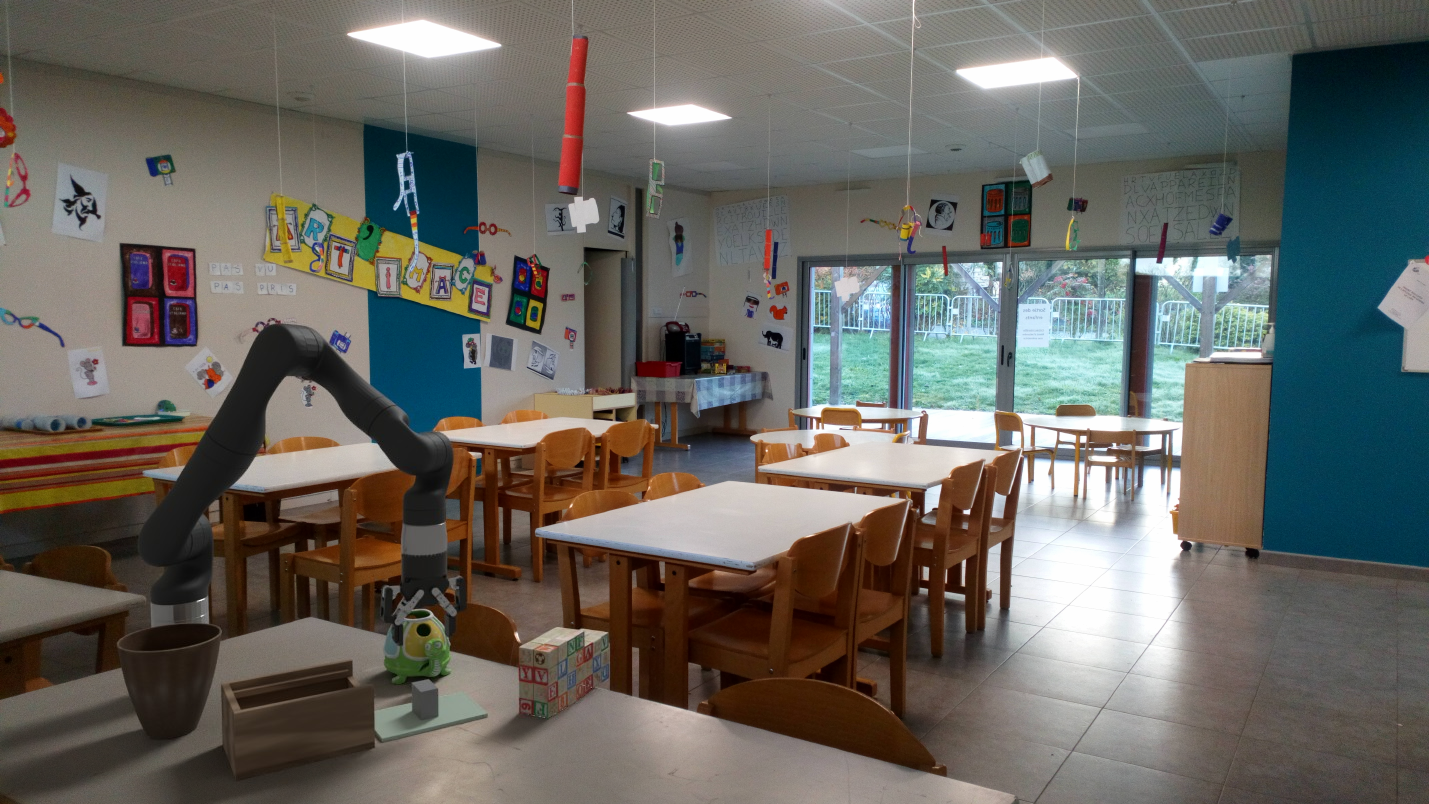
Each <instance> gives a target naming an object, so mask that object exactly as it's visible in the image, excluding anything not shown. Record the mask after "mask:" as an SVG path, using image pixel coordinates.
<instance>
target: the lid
mask: <svg viewBox="0 0 1429 804" xmlns="http://www.w3.org/2000/svg"><path fill="white" fill-rule="evenodd" d="M374 713H375V736H376V737H378V739H379V740H380V742H381V743H384V742H389V741H390V742H391V741H393V740H397V739H401V738H405V737H406V738H407V737H410V736H414V735H417V734H419V735H420V734H421V733H422V734H423V733H426V732H431V731H436V730H438V729H443V728H446V727H452V726H455V725H460V724H463V723H469V722H472V721H478V720H481V719H484V718H488V717H489V713H488V712H487V711H486V710H485V709H484V708H483V707H481V706H480V705H479V703H477V702H476V701H475V700H473V699H472V697H471V696H469V695H468V694H467V693H466V692H465V691H458V692H454V693H453V692H452V693H449V694H444V695H439V687H438V686H437V685H436V684H435V683H434V682H432V681H431V680H430V679H429V678H428V679H424V680H423V679H422V680H418V681H413V682H411V702H409V703H405V704H404V703H403V704H400V705H399V704H398V705H394V706H391V707H390V706H389V707H387V708H386V707H385V708H382V709H378V710H374Z"/></svg>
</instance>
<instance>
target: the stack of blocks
mask: <svg viewBox="0 0 1429 804" xmlns="http://www.w3.org/2000/svg"><path fill="white" fill-rule="evenodd" d="M609 637H610V636H609V632H608V631H607V632H606V631H602V630H592V629H588V628H587V629H586V628H580V629H573V628H567V627H566V628H565V627H561V626H560V627H559V626H556V627H554V628H552V629H550V630H548V631H545V632H544V633H543V634H541V635H539V636H538V637H536V638H534V639H532V640H530V641H528V642H526V643H524V644H522V645H520V646H518V691H519V692H518V706H519V707H518V711H519V712H518V714H521V713H523V714H522V715H525V714H529V715H528V716H530V715H535V716H534V717H536V716H541V717H545V718H549V717H551V716H552V715H554V714H555V713H557V712H559V711H560V710H562V709H563V710H565V709H566V708H568V707H569V706H571V705H573V704H574V703H576V702H577V701H578V700H579V699H580V698H582V697H583V696H584V695H586V694H587V693H590V691H592V690H593V689H595V688H597V687H598V686H599V685H601V684H603V683H604V682H605V681H607V680H608V679H609V678H610V648H609V644H610V643H609V641H610V640H609ZM583 685H585V686H583ZM591 687H592V689H591ZM573 702H574V703H573ZM570 704H571V705H570ZM568 705H569V706H568ZM567 706H568V707H567ZM565 707H566V708H565ZM564 708H565V709H564ZM563 710H562V711H563ZM560 712H561V711H560ZM560 712H559V713H560ZM557 714H558V713H557ZM555 715H556V714H555ZM555 715H554V716H555ZM541 717H540V718H541ZM552 717H553V716H552ZM552 717H551V718H552ZM545 718H544V719H545ZM549 719H550V718H549Z"/></svg>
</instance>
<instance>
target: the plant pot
mask: <svg viewBox="0 0 1429 804" xmlns="http://www.w3.org/2000/svg"><path fill="white" fill-rule="evenodd" d="M221 638H222V628H221V627H220V626H218V625H216V624H212V623H209V624H206V623H178V624H168V625H162V626H156V627H151V626H150V627H148V628H144V629H139V630H136V631H134V632H131V633H128V634H126V635H124V636H123V637H121V638H119V640H118V641H117V642H116V647H117V652H118V657H119V663H120V667H121V671H122V676H123V679H124V683H125V686H126V691H127V693H128V695H129V699H130V701H131V705H132V708H133V709H134V712H135V714H136V717H137V719H138V721H139V724H140V725H141V727H142V730H143V731H144V733H145V735H146V736H147V738H150V739H154V740H155V739H156V740H160V739H161V740H162V739H163V740H164V739H171V738H178V737H181V736H185V735H186V734H187V735H188V734H190V733H192V732H193V731H194V730H195V729H197V727H198V725H199V722H200V719H201V717H202V715H203V711H204V710H205V707H206V704H207V702H208V701H207V700H208V697H209V695H210V691H211V688H212V684H213V680H214V676H215V672H216V668H217V663H218V659H219V654H220V653H219V652H220V646H221Z"/></svg>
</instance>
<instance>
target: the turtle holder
mask: <svg viewBox="0 0 1429 804" xmlns="http://www.w3.org/2000/svg"><path fill="white" fill-rule="evenodd" d="M411 616H414V617H415V618H413V619H412V618H408V617H411ZM402 624H403V646H398V645H397V644H396V643H395V642H394V641H393V640H392V624H391V625H390V627H389V628H388V631H387V634H386V637H385V640H384V641H385V642H384V646H383V654H384V660H383V664H384V665H383V666H384V668H385V669H386V670H387V671H389V672H390V673H392V674H395V675H396V676H395V677H392V678H391V683H392V684H394V683H396V684H395V685H403V684H404V683H405V682H406V680H407V678H408V677H421V676H422V677H429V678H434V677H437V676H438V675H439V674H440V676H447V675H450V674H451V672H452V668H451V667H447V665H448V664H449V663H450V661H451V653H450V649H451V648H450V647H451V642H450V640H449V639H450V637H447V636H446V635H445V625H444V624H443V622H441V621H440V620H439V619H438V618H437V617H436V616H435V615H434V613H433V612H432V611H431V610H429V609H426V608H418V609H417V608H416V609H412V611H411V612H410V613H409V614H408V615H407V616H406V617H405V619H404V620H403V622H402ZM402 683H403V684H402Z"/></svg>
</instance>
